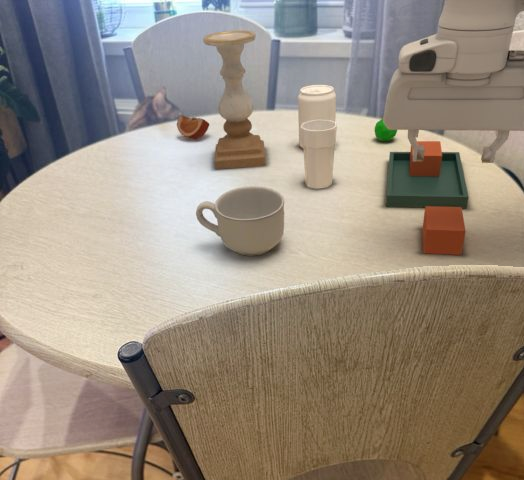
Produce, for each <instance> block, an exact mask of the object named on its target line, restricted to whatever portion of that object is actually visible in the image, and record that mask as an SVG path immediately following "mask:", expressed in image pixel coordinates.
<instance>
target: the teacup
mask: <svg viewBox="0 0 524 480" xmlns="http://www.w3.org/2000/svg"><path fill="white" fill-rule="evenodd" d="M204 210H210V211H211V212H212V213H213V215H214V217H215V219H216V221H217V224H215V223H214V222H211V221H209V220H208V219H207V218H206V217H205V216H204V214H203V211H204ZM195 216H196V219H197V221H198V222H199V224H200V225H201V226H202V227H204V228H206V229H208V230H209V231H211V232H213V233H215V235H216V236H217V237H219V238H220V240H221V241H222V243H223V245H224V246H225V247H226V248H227V249H229V250H231V251H233V252H234V253H237V254H240V255H242V256H247V257H248V256H250V257H251V256H252V257H253V256H260V255H263V254H265V253H268V252H269V251H270V250H271V249H273V248H274V247H275V246H277V245H278V244H279V243H280V241H281V240H282V238H283V235H284V230H285V198H284V195H282V194H281V193H280V191H277V190H275V189H273V188H271V187H266V186H259V185H255V186H254V185H253V186H251V185H250V186H241V187H236V188H233V189H229V190H228V191H226V192H224V193H222V194H221V195H220V196H219V197H218V198H217V199H216V201H215V203H214V202H212V201H208V200H207V201H202V202H201V203H199V204H198V205H197V208H196V211H195Z"/></svg>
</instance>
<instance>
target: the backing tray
mask: <svg viewBox="0 0 524 480" xmlns="http://www.w3.org/2000/svg"><path fill="white" fill-rule="evenodd" d="M388 157H389V159H388V172H387V185H386V201H385V207H389V208H390V207H395V208H396V207H397V208H425V206H432V207H462V209H468V208H467V207H468V203H469V198H470V197H469V193H468V187H467V183H466V178H465V173H464V169H463V164H462V158H461V154H460V152H459V151H442V161H441V168H440V175H439V177H432V176H410V168H409V160H410V151H390V152H389V156H388Z"/></svg>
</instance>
